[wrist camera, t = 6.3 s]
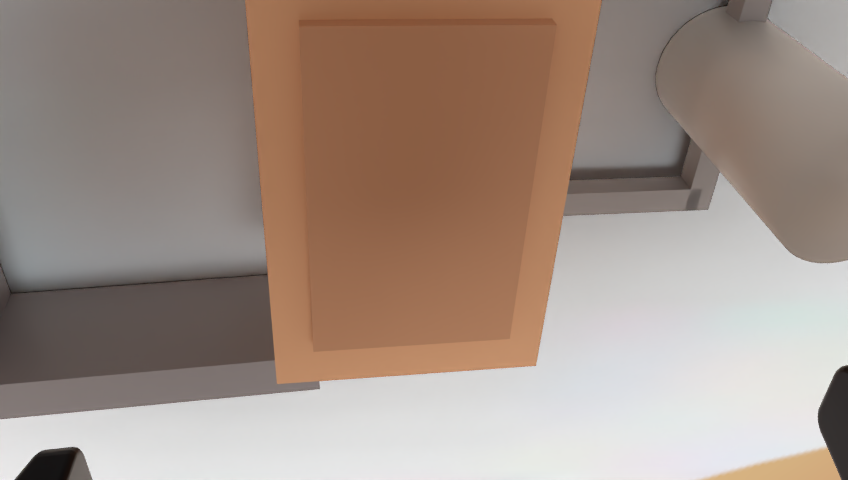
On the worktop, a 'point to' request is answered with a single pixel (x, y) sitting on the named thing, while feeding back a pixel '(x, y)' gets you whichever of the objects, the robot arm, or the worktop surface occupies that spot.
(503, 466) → the worktop surface
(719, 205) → the worktop surface
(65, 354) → the printer bay
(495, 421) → the worktop surface
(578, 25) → the raised panel orange block
